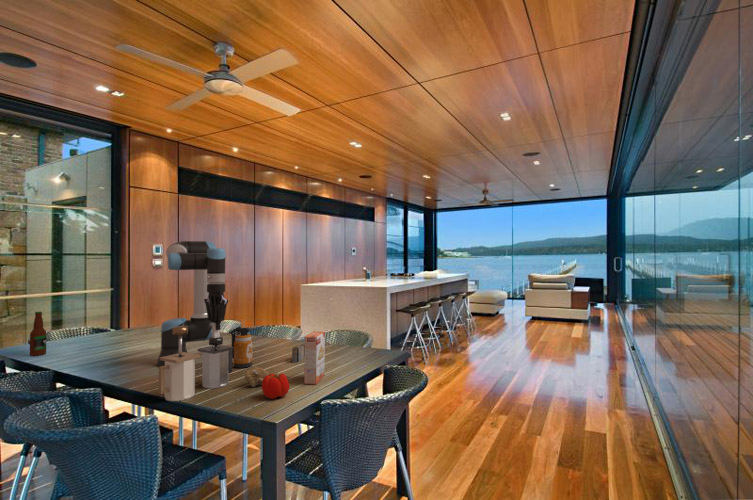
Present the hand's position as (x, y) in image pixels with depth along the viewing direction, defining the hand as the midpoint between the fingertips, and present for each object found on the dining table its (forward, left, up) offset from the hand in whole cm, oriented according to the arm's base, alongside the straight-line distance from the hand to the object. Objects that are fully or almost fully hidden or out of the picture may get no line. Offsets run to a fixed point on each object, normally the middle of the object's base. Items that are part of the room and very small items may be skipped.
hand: (215, 337), depth 174 cm
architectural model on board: (+4, +51, -21) cm, 55 cm away
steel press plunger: (0, 0, -16) cm, 16 cm away
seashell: (+16, +10, -21) cm, 28 cm away
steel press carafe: (0, +2, -21) cm, 21 cm away
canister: (-14, +27, -21) cm, 37 cm away
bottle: (-138, -11, -21) cm, 140 cm away
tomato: (+34, +1, -21) cm, 40 cm away
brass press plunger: (0, -17, -9) cm, 19 cm away
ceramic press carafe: (0, -19, -21) cm, 28 cm away
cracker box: (+34, +26, -21) cm, 48 cm away
